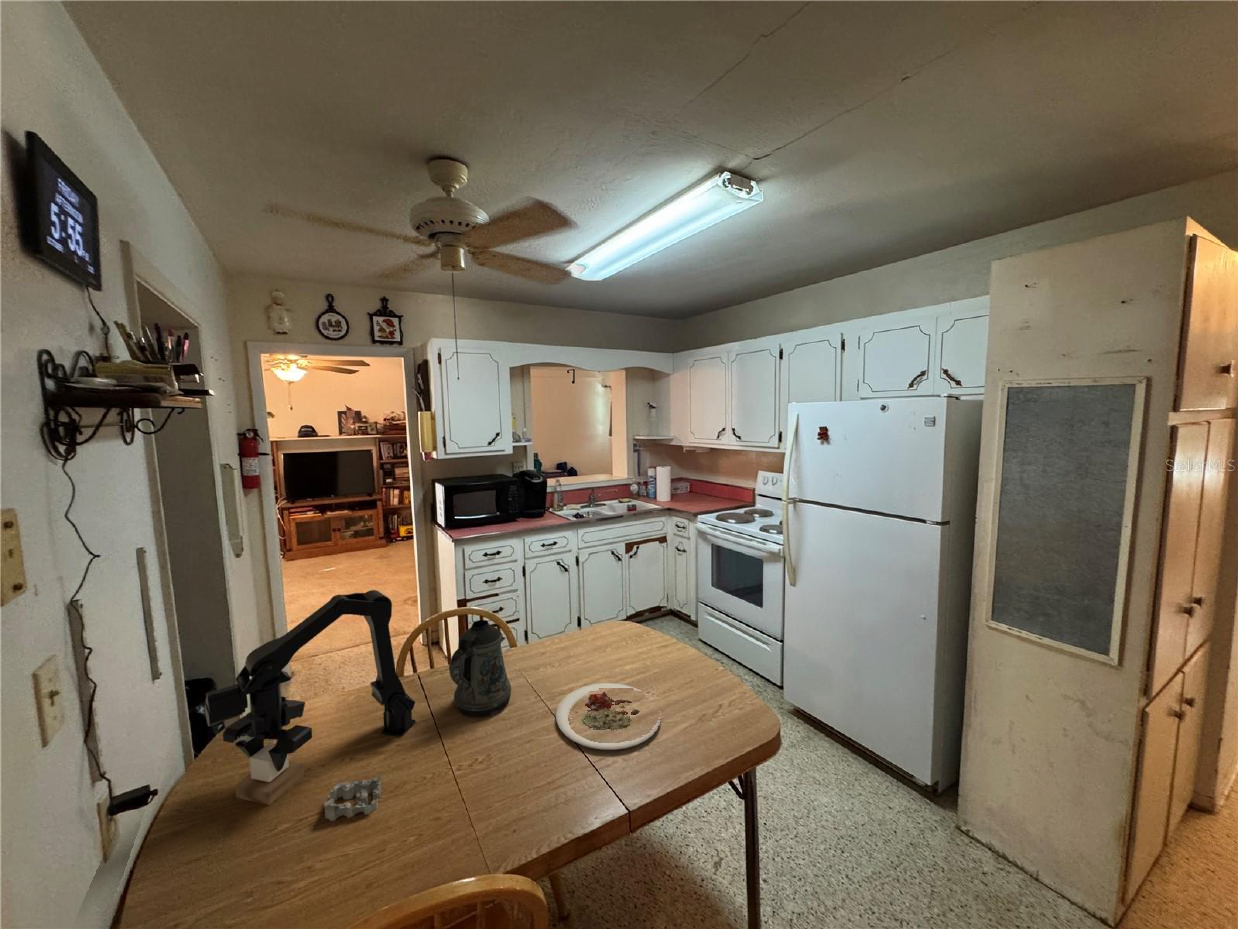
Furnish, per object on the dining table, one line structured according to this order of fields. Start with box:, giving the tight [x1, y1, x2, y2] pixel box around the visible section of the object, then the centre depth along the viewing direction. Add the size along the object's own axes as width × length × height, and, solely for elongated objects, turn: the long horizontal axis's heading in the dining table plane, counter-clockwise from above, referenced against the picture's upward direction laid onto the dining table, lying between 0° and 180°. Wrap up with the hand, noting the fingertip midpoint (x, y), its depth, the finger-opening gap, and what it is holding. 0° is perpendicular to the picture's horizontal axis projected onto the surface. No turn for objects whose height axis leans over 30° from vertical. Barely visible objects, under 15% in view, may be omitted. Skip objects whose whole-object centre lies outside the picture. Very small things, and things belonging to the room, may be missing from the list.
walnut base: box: [235, 760, 305, 806], centre depth 112 cm, size 9×9×3 cm
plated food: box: [555, 682, 662, 751], centre depth 140 cm, size 30×30×3 cm
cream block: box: [249, 742, 290, 782], centre depth 112 cm, size 5×5×5 cm
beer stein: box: [448, 619, 512, 719], centre depth 143 cm, size 16×19×25 cm
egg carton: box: [322, 776, 382, 822], centre depth 107 cm, size 11×8×4 cm
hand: (270, 768), depth 112 cm, fingers closed on cream block, 5 cm apart
